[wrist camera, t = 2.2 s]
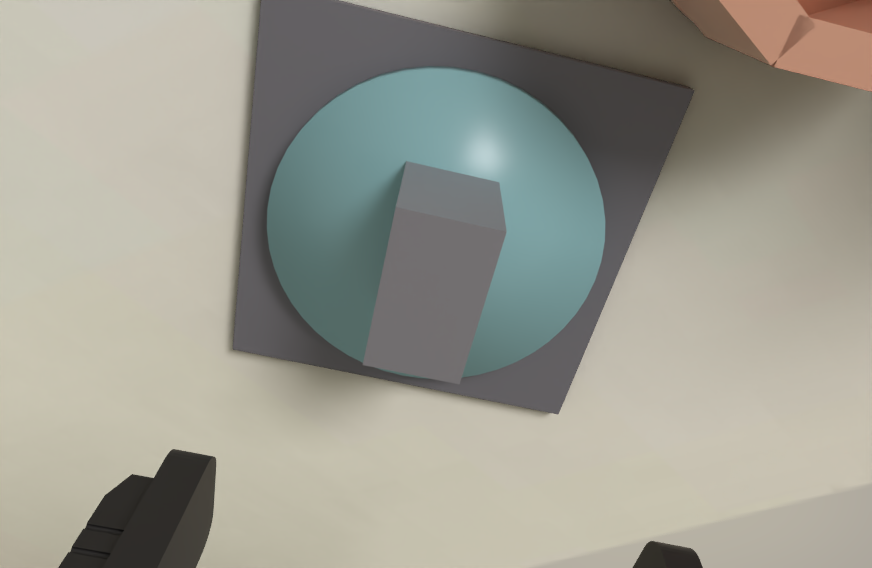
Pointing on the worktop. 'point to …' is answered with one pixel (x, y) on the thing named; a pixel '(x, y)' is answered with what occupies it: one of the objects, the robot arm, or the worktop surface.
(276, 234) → the lid
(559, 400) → the mat
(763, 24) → the bowl
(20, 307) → the worktop surface
